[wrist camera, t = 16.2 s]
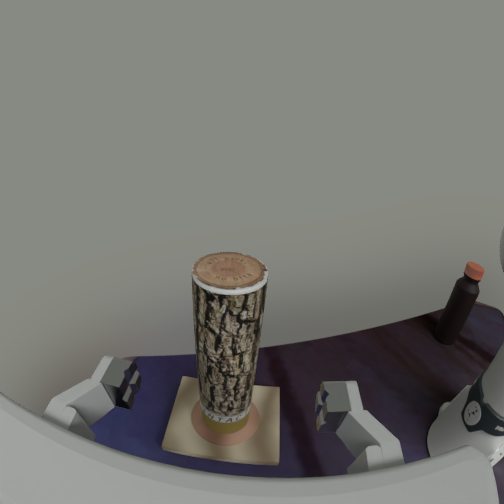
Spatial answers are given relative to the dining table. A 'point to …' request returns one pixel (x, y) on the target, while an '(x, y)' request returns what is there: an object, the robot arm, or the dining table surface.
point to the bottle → (459, 304)
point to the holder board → (225, 445)
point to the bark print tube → (227, 335)
